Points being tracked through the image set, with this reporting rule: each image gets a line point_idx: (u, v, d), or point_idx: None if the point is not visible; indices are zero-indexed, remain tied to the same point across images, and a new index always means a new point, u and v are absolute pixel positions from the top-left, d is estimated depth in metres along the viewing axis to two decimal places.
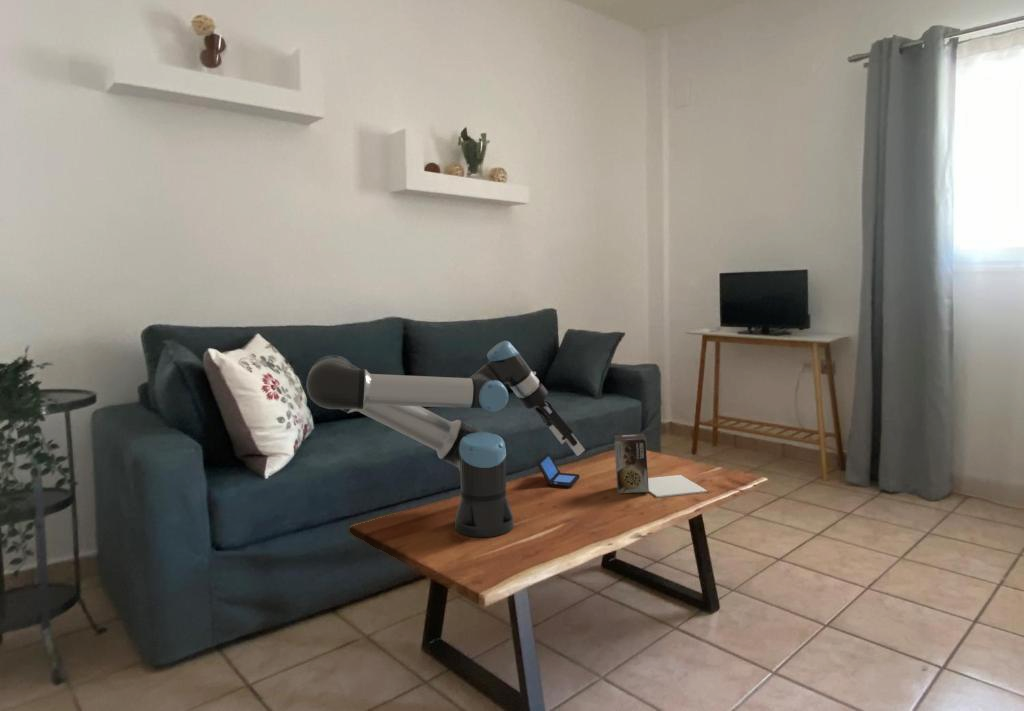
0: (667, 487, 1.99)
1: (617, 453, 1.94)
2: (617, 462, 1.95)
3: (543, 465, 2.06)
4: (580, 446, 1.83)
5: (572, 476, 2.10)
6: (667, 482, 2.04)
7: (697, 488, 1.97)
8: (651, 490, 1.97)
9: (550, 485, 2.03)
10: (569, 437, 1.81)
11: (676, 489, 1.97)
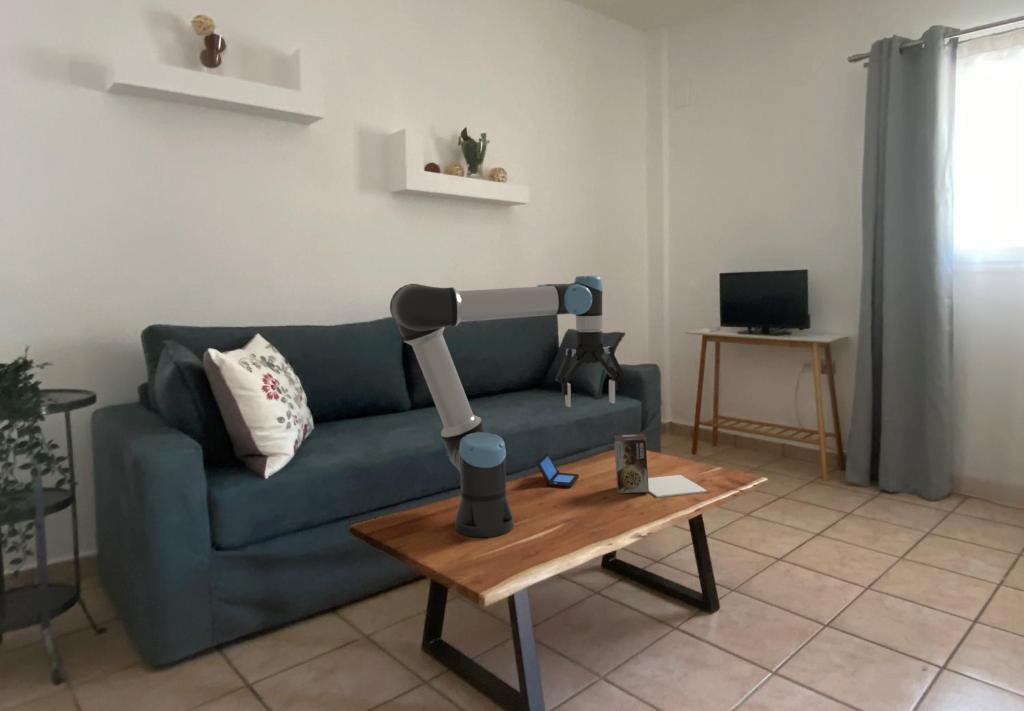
0: (667, 487, 1.99)
1: (617, 453, 1.94)
2: (617, 462, 1.95)
3: (542, 465, 2.06)
4: None
5: (571, 476, 2.10)
6: (667, 482, 2.04)
7: (697, 488, 1.97)
8: (651, 490, 1.97)
9: (550, 485, 2.03)
10: None
11: (676, 489, 1.97)
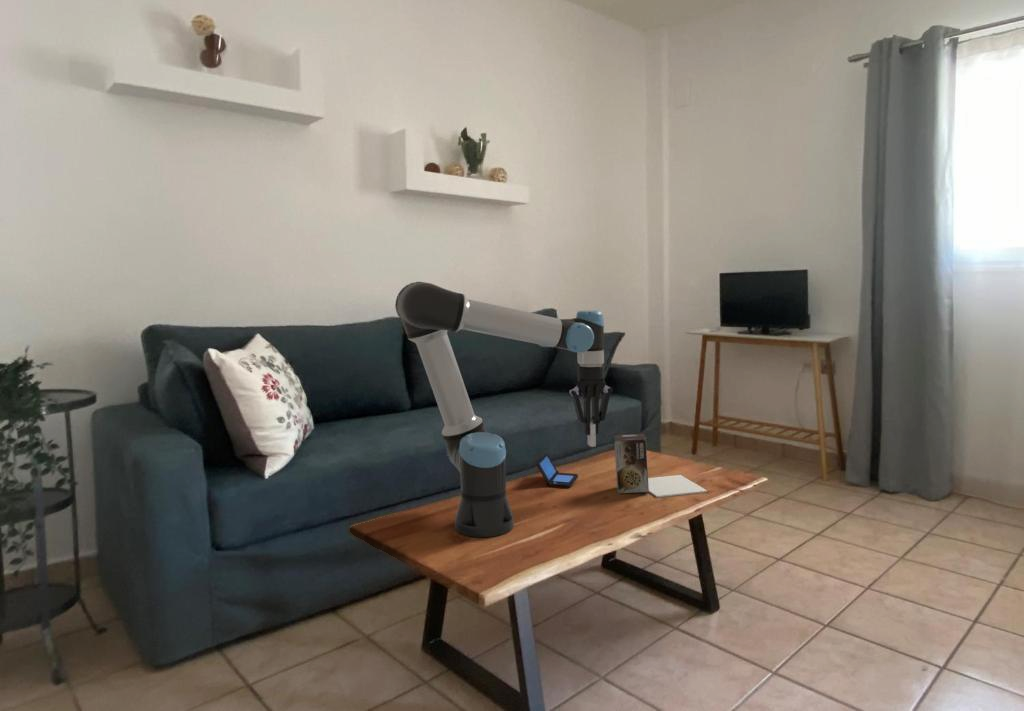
0: (667, 487, 1.99)
1: (617, 453, 1.94)
2: (617, 462, 1.95)
3: (542, 465, 2.06)
4: None
5: (570, 476, 2.10)
6: (667, 482, 2.04)
7: (697, 488, 1.97)
8: (651, 490, 1.97)
9: (549, 485, 2.03)
10: None
11: (676, 489, 1.97)
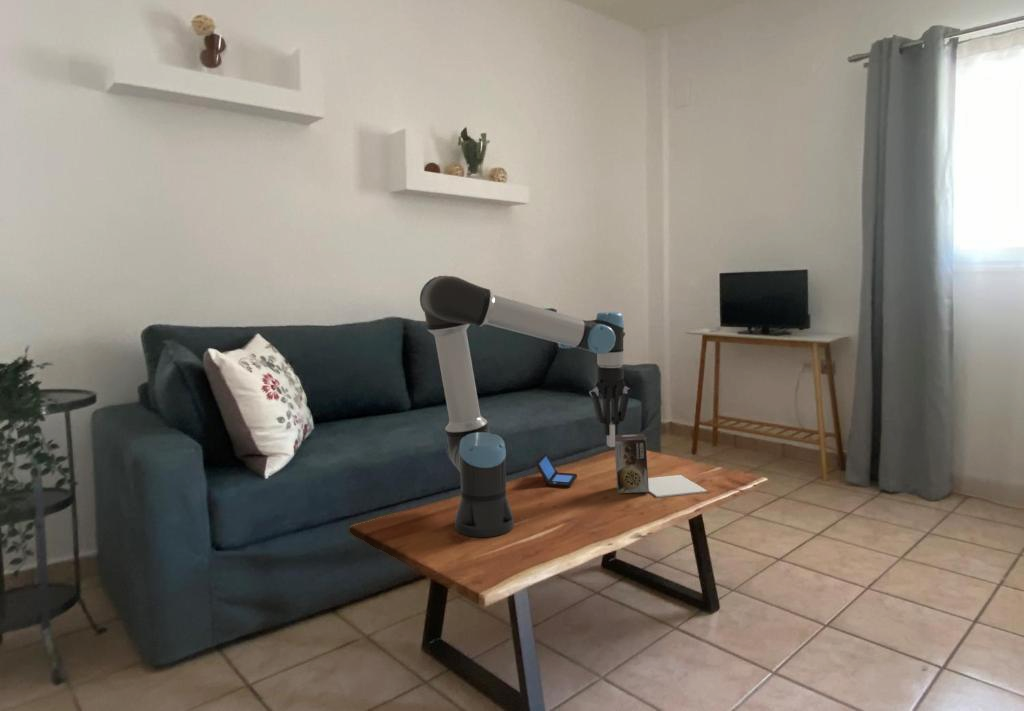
0: (667, 487, 1.99)
1: (617, 453, 1.94)
2: (617, 462, 1.95)
3: (541, 465, 2.06)
4: None
5: (570, 476, 2.11)
6: (667, 482, 2.04)
7: (697, 488, 1.97)
8: (651, 490, 1.97)
9: (549, 485, 2.03)
10: None
11: (676, 489, 1.97)
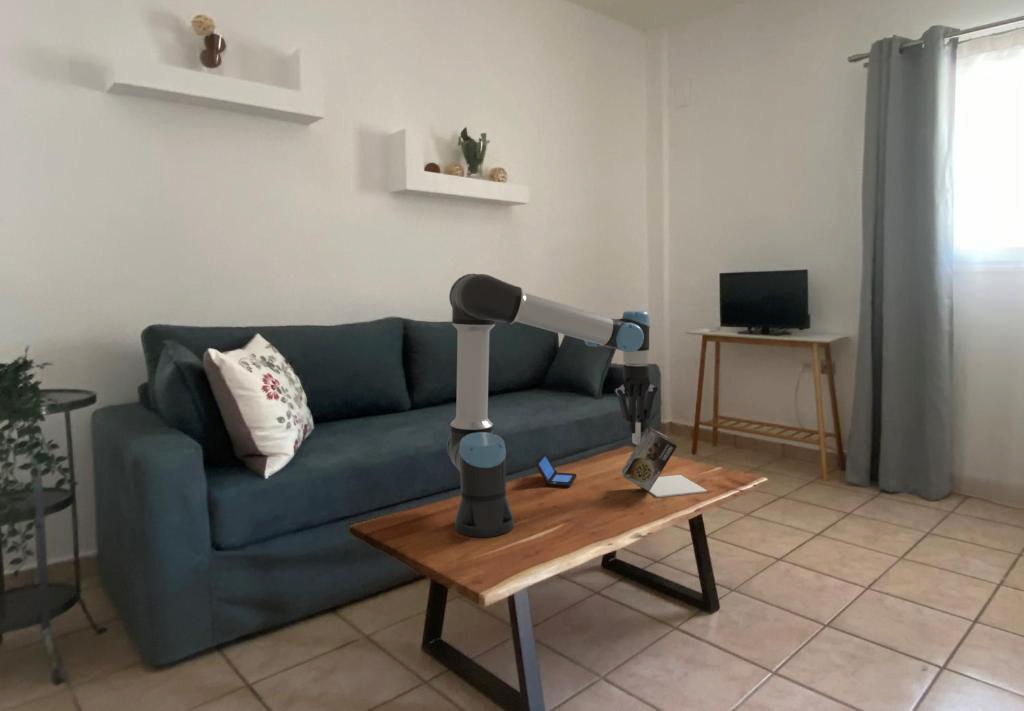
0: (667, 487, 1.99)
1: (645, 442, 1.93)
2: (640, 450, 1.94)
3: (541, 465, 2.06)
4: None
5: (569, 476, 2.11)
6: (667, 482, 2.04)
7: (697, 488, 1.97)
8: (651, 490, 1.97)
9: (549, 485, 2.03)
10: None
11: (676, 489, 1.97)
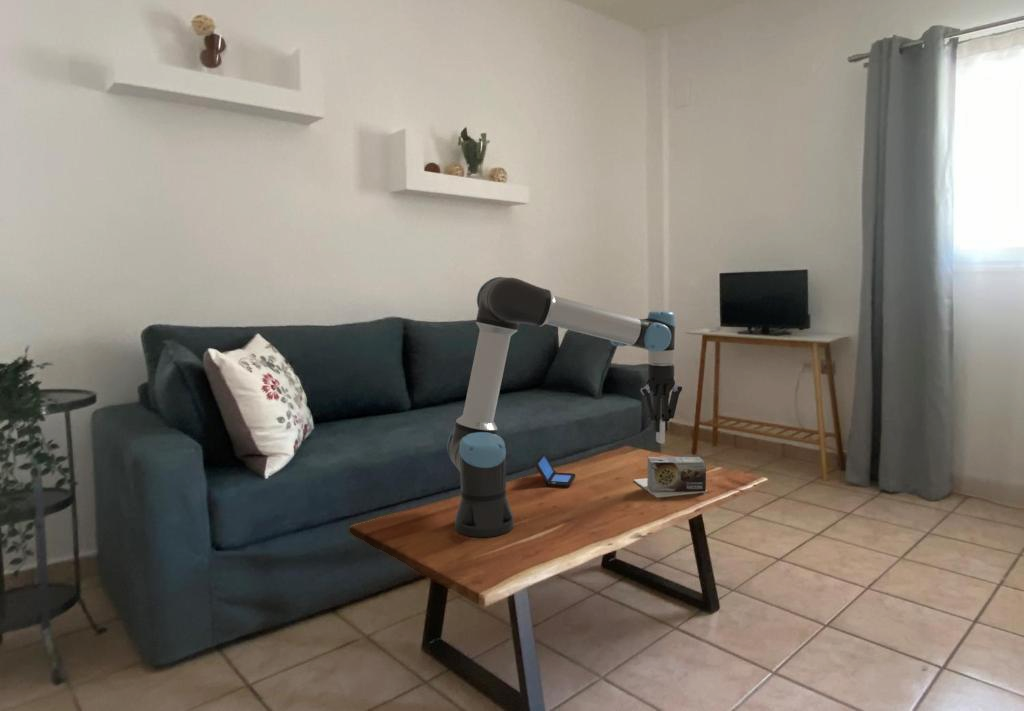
0: None
1: (693, 463, 1.93)
2: (683, 463, 1.94)
3: (540, 465, 2.06)
4: None
5: (568, 475, 2.11)
6: None
7: None
8: None
9: (548, 485, 2.03)
10: None
11: None
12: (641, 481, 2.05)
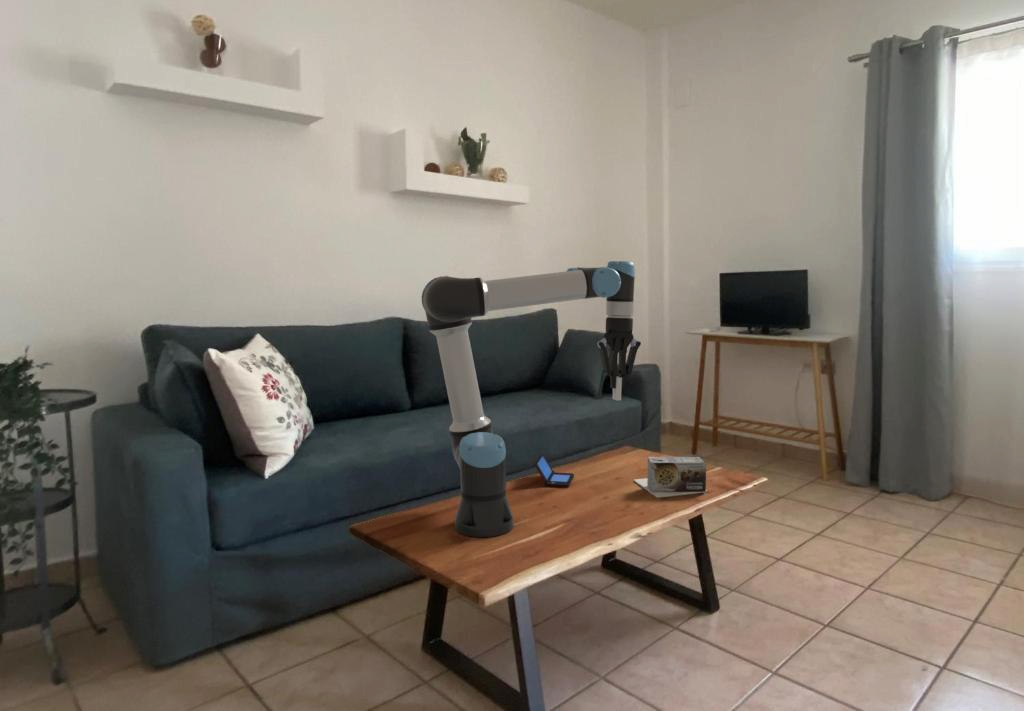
0: None
1: (693, 464, 1.93)
2: (683, 463, 1.93)
3: (539, 465, 2.06)
4: None
5: (567, 475, 2.11)
6: None
7: None
8: None
9: (548, 485, 2.03)
10: None
11: None
12: (641, 481, 2.05)
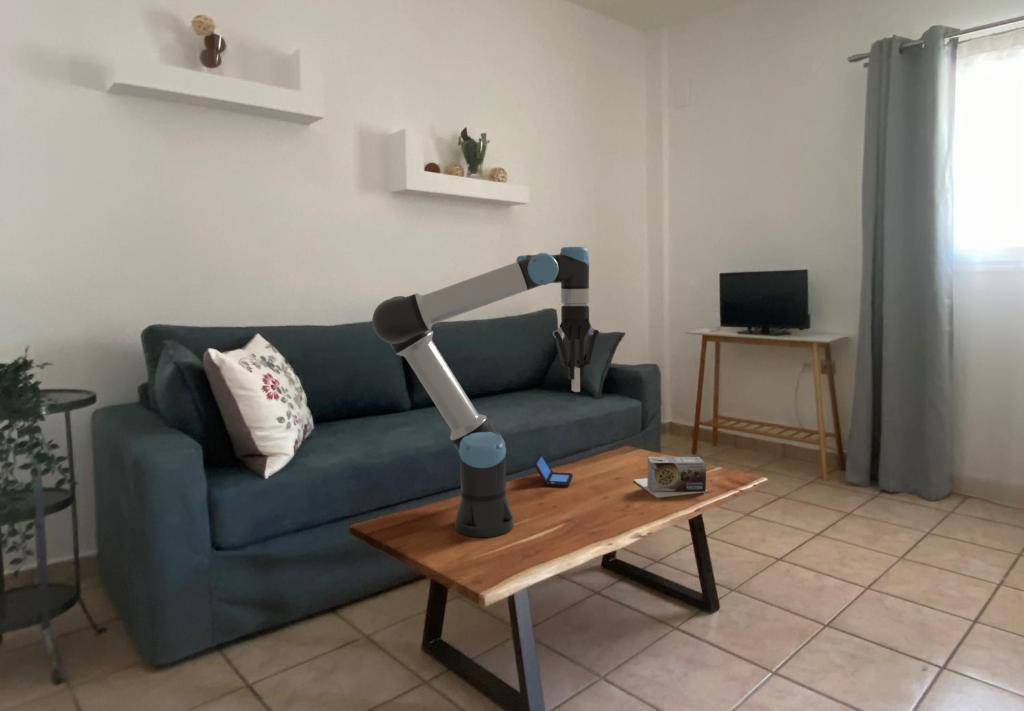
0: None
1: (693, 464, 1.93)
2: (683, 463, 1.93)
3: (539, 465, 2.06)
4: None
5: (566, 475, 2.11)
6: None
7: None
8: None
9: (547, 485, 2.03)
10: None
11: None
12: (641, 481, 2.05)
